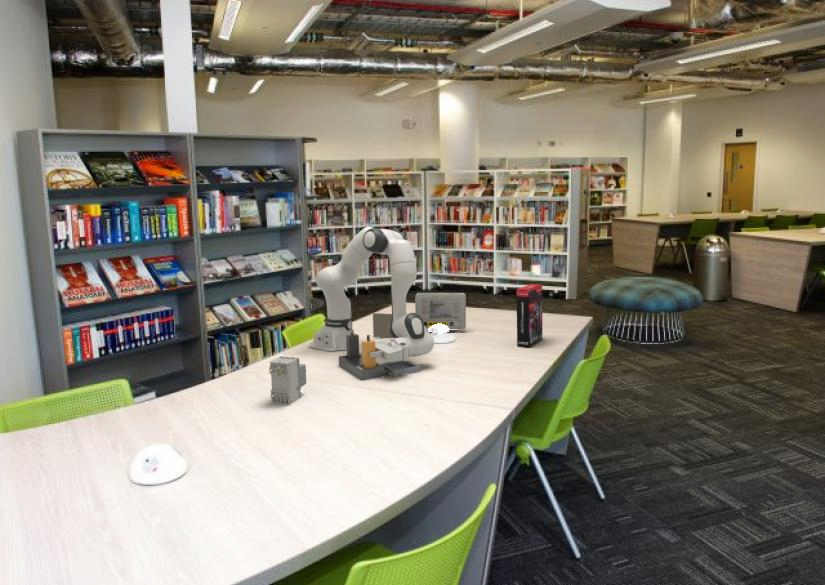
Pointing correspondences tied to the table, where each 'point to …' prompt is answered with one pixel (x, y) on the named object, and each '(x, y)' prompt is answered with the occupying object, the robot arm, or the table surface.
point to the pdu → (361, 368)
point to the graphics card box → (529, 315)
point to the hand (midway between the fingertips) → (366, 353)
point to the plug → (366, 348)
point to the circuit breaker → (286, 379)
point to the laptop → (382, 325)
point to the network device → (442, 309)
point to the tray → (400, 367)
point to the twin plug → (352, 345)
